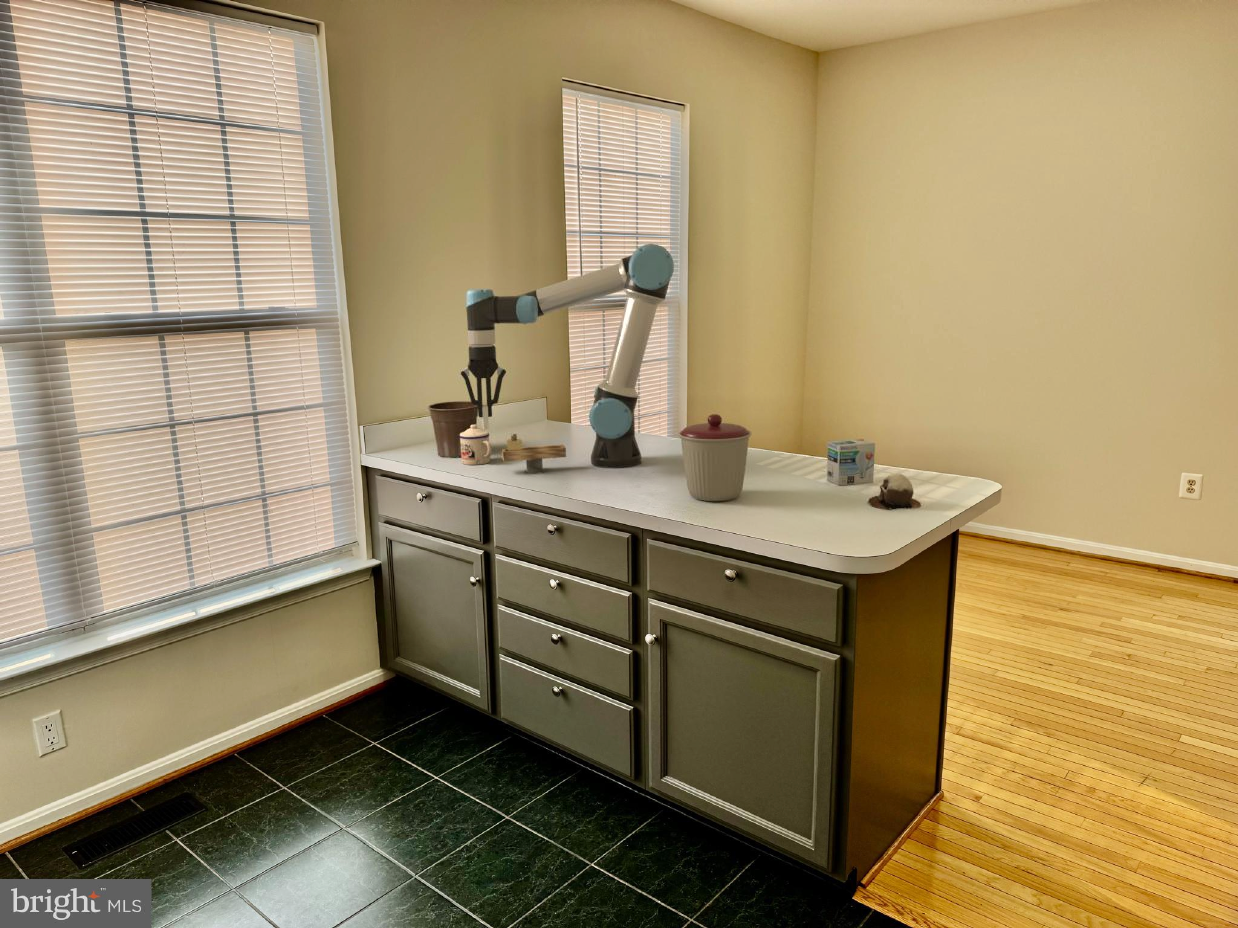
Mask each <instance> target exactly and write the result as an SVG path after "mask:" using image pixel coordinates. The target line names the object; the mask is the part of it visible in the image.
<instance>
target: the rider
mask: <svg viewBox="0 0 1238 928" xmlns="http://www.w3.org/2000/svg"><path fill="white" fill-rule="evenodd" d="M517 435H518V434H517V433H512V434H511V435H510V438H509V439H508V438H507V439H506V449H507V451H521V450H522V448H523V445H522V444H523V443H522V442H523V441H522V439H521V438H518V436H517Z"/></svg>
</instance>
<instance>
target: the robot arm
mask: <svg viewBox="0 0 1238 928" xmlns="http://www.w3.org/2000/svg"><path fill="white" fill-rule="evenodd" d="M673 259H674V258H673V256H672V254H671V253H670V252H669V250H667V248H665V247H663V246H662V245H659V244H654V243H648V244H647V243H646V244H644V245H641V246H639V247H638V248H637V249H636V250H635V251H634V252H633V253H632V254H631V255H629V256H626V257H623V258H621V259H620V261H619V262H618V263H616V264H613V265H610V266H606V267H604V268H600V269H596V270H594V271H591V272H589V273H585V274H581V275H578V276H576V277H573V278H569V279H566V280H563V281H559V282H557V283H553V284H551V285H547V286H545V287H541V288H538V289H534V290H533V291H529V292H526V293H522V294H520V295H519V294H518V295H507V296H505V295H503V296H498V295H495V294H494V290H493V289H490V288H484V289H482V288H478V289H477V288H476V289H475V288H474V289H473V288H472V289H468V291H466V303H465V304H466V305H465V310H466V320H467V343H468V345H470V346H468V363H467V367H465V368H464V369H463V370H460V375H461V376H462V378H463V379H464V381H465V385H466V388H467V392H468V395H469V399H470V402H472V404H474V405H477V406H478V417H479V418H481V419H482V428H483V429H482V430H489V429H490V427H489V426H490V423H489V422H490V421H489V418H492V416H493V405H496V404H498V402H499V399H500V398H499V397H500V395H501V394H500V393H501V389H502V383H503V379H504V377H505V375H506V373H507V371H506V369H504V368H502V367H500V366H499V363H498V362H497V351H496V350H497V348H496V346H495V344H496V325H495V324H499V325H500V324H509V325H510V324H515V325H516V324H523V325H527V324H528V325H529V324H534V323H536V322H537V320H538V318H540V317H543V316H545V315H546V316H547V315H548V314H552V313H555V312H559V311H562V310H564V309H568V308H571V307H574V306H577V305H581V304H583V303H587V302H590V301H594V300H596V299H599V298H603V297H606V296H610V295H612V294H615V293H619V292H622V291H624V292H625V294H626V296H627V297H626V301H625V305H624V308H623V313H622V316H621V320H620V324H619V327H618V331H617V334H616V339H615V343H614V346H613V350H612V354H611V358H610V361H609V365H608V368H607V372H606V376H605V380H604V381H602V382H600V383H598V386H597V387H596V388H595V389H594V394H593V398H594V400H593V405H592V407H591V408H590V411H589V415H588V418H589V419H588V421H589V424H590V426H591V429H592V430H593V431H594V432H595V441H594V444H593V448H592V450H591V455H590V464H591V465H592V466H595V467H598V468H609V469H611V468H627V467H628V468H629V467H632V466H637V465H640V464H641V463H642V453H641V451H640V448H639V445H638V442H637V439H636V430H635V429H636V428H635V427H636V426H635V421H636V420H635V409H636V405H637V402H638V399H639V394H638V392H637V390H636V386H637V382H638V377H639V375H640V372H641V371H640V370H641V367H642V363H643V359H644V356H645V354H646V353H645V352H646V349H647V345H648V342H649V337H650V335H651V332H652V331H651V330H652V327H653V323H654V319H655V315H656V312H657V309H658V305H660V304H661V303H662V302H664V301H665V300H666V296H667V293H668V289H669V286H670V283H671V278H672V277H673V274H674V269H675V263H674V260H673ZM470 373H471V374H472V375H473V377H474V378H475V379H476V393H477V394H476V395H477V396H476V397H477V399H476V398H475V395H474V391H473V388H472V387H473V386H472V383H471V380H470V378H469V376H470ZM495 373H496V374H497V379H496V383H495V387H494V388H495V389H494V394H493V399H492V384H491V383H492V381H491V379H492V377H493V376H494V374H495ZM483 379H485V393H486V394H485V395H486V404H484V405H483V386H482V380H483Z"/></svg>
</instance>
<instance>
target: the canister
mask: <svg viewBox="0 0 1238 928" xmlns="http://www.w3.org/2000/svg"><path fill="white" fill-rule="evenodd" d="M706 420H707V422H705V423H697V424H691V425H689V426H686V427H684V428H683V429H682V430H680V431H679V432H678V434H677V436H678V437H679V438H680V439H681V440H680V441H681V443H680V444H681V451H682V458H683V466H684V467H683V468H684V475H685V481H686V486H687V487H686V488H687V490H688V493H689V494H690V496H691V497H692V498H694V499H696V500H699V501H703V502H704V501H705V502H724V501H725V502H726V501H730V500H734V499H736V498H738V497H739V496H740V494H741V492H743V491H742V490H743V487H744V482H745V481H744V480H745V473H746V467H747V466H746V465H747V457H748V450H749V449H748V447H749V438H750V437H751V436H752V432H751V430H749V429H747V428H746V427H744V426H742V425H739V424H734V423H728V422H727V423H725V422H722V421H723V419H722V416H721V415H720V414H717V413H715V414H714V413H713V414H709V415H708V417H707V419H706Z"/></svg>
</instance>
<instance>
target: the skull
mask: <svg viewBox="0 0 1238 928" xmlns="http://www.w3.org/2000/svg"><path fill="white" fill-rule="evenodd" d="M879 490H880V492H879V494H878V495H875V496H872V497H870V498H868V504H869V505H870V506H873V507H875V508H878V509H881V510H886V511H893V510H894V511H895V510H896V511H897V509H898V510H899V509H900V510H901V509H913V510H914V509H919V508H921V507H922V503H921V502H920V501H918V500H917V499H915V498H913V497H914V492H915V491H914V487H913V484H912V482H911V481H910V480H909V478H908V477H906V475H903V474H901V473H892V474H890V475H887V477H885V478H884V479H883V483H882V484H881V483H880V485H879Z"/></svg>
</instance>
